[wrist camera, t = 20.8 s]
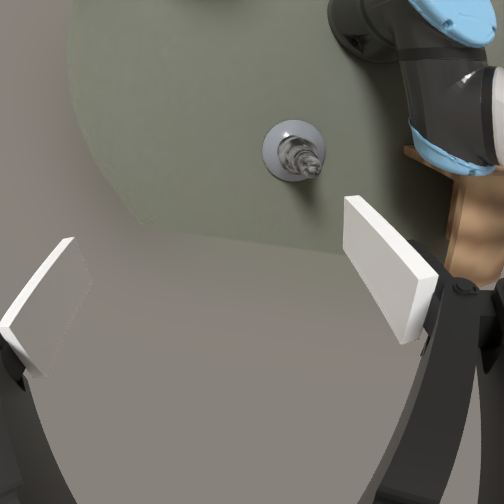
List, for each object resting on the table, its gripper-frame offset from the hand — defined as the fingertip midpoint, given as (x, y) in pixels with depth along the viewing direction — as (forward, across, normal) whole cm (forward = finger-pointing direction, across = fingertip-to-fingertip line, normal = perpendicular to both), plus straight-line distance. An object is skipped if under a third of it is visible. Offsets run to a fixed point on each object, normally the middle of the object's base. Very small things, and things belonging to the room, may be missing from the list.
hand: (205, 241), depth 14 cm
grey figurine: (+34, +11, -4) cm, 36 cm away
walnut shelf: (+35, +39, -14) cm, 54 cm away
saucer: (+35, +11, -4) cm, 37 cm away
